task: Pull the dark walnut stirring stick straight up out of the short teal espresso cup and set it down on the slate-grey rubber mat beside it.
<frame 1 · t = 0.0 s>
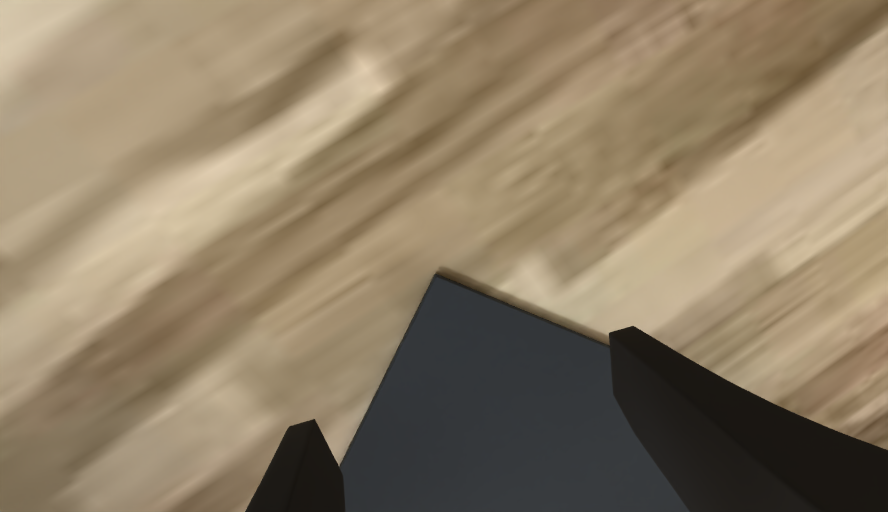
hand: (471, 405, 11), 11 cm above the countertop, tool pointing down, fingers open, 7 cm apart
mat: (562, 461, 26), on the countertop
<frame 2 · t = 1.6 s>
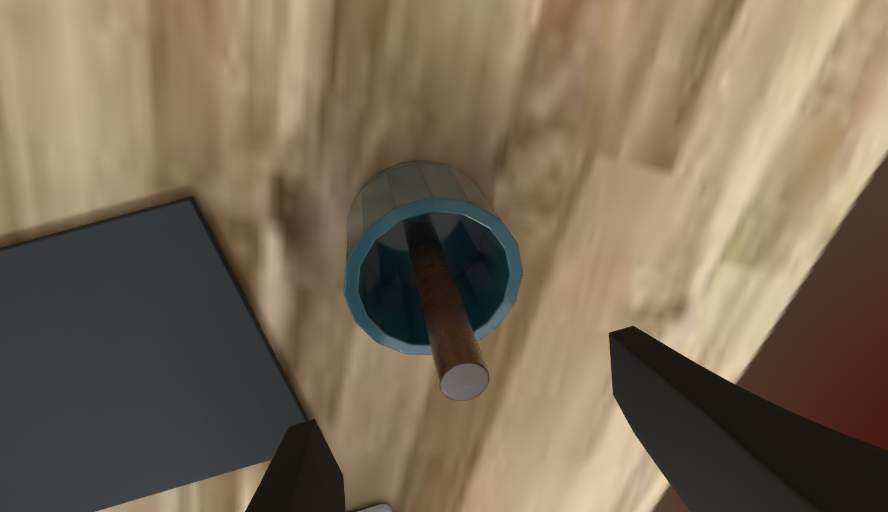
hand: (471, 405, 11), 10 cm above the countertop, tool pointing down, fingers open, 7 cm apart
espresso cup: (420, 231, 20), on the countertop
stirring stick: (421, 236, 20), resting on espresso cup
mat: (23, 405, 21), on the countertop
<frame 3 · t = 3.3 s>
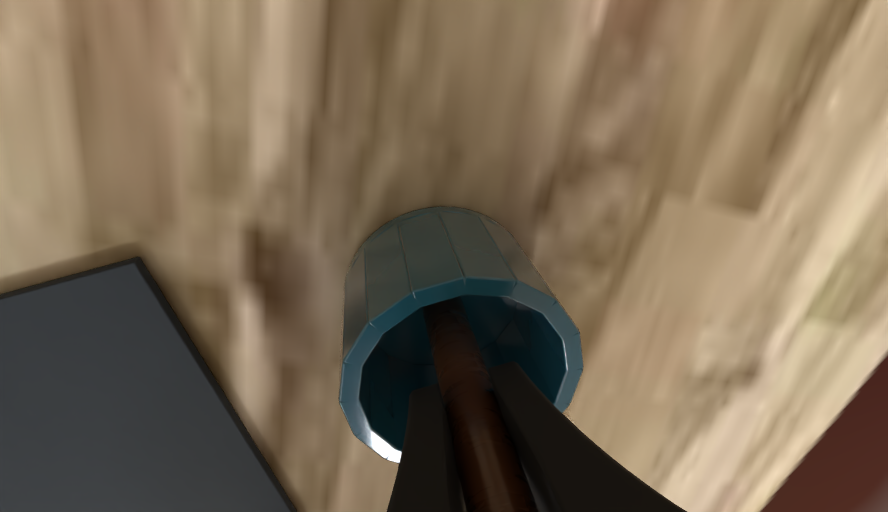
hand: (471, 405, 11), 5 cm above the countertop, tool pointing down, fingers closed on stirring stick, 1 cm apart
espresso cup: (438, 292, 16), on the countertop
stirring stick: (440, 300, 15), point 1 cm above the countertop, touching espresso cup, gripper
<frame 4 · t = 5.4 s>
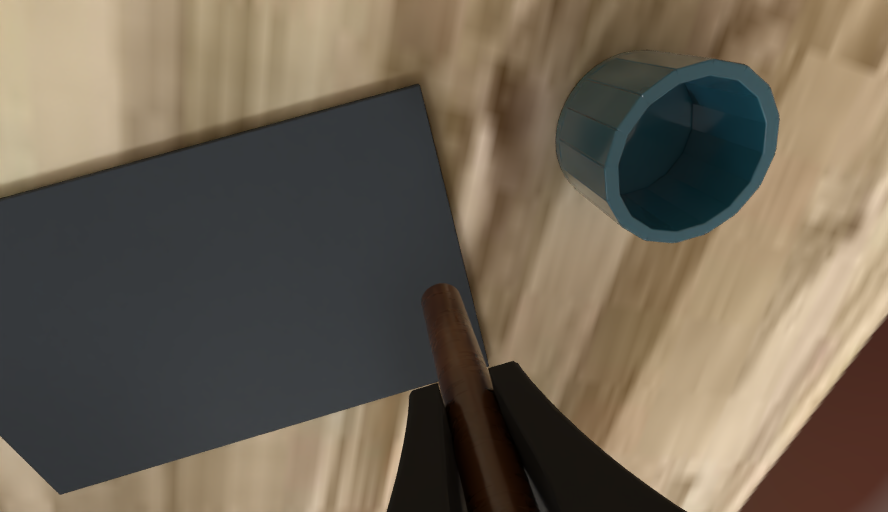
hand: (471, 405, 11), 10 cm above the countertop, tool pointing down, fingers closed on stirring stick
espresso cup: (625, 130, 20), on the countertop
stirring stick: (440, 299, 15), point 6 cm above the countertop, touching gripper
mat: (216, 314, 21), on the countertop
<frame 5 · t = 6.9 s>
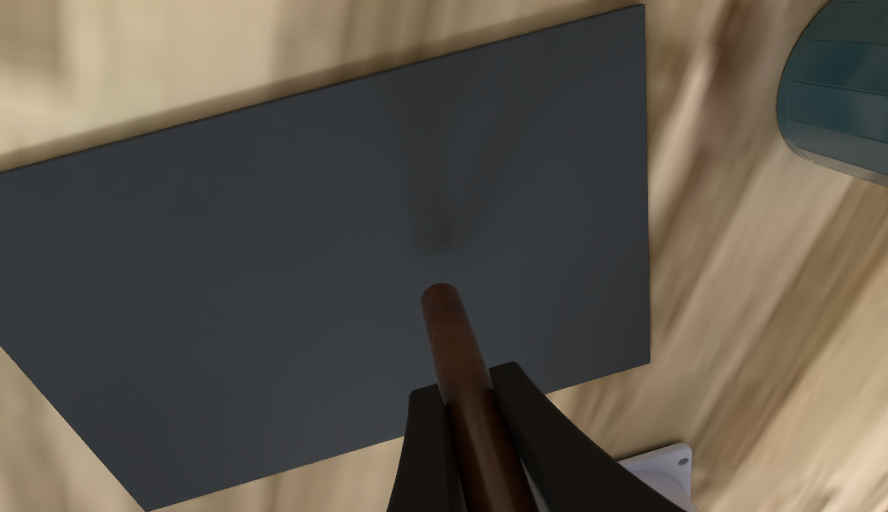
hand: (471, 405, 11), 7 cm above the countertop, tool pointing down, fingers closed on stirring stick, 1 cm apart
espresso cup: (860, 74, 16), on the countertop
stirring stick: (440, 299, 15), point 2 cm above the countertop, touching gripper
mat: (352, 296, 17), on the countertop
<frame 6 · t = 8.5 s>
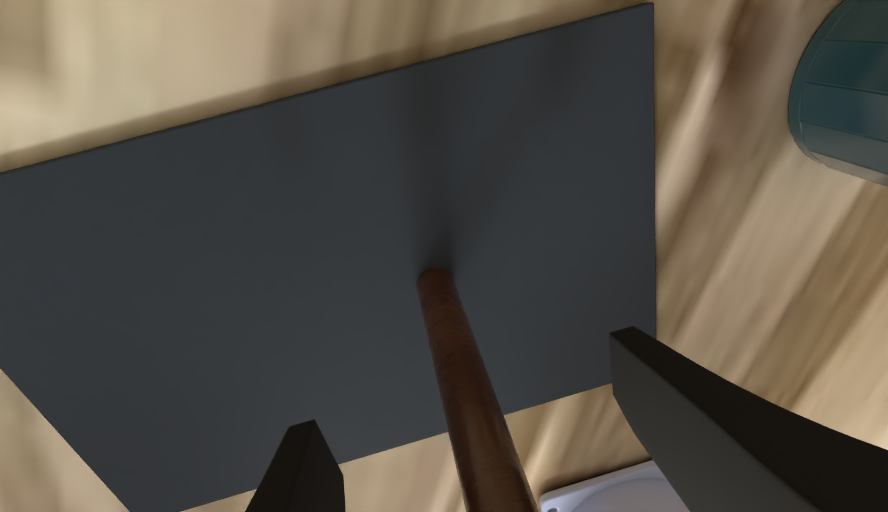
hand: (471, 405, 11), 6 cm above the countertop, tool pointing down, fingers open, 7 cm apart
espresso cup: (874, 74, 16), on the countertop
stirring stick: (434, 284, 16), resting on mat
mat: (351, 303, 17), on the countertop
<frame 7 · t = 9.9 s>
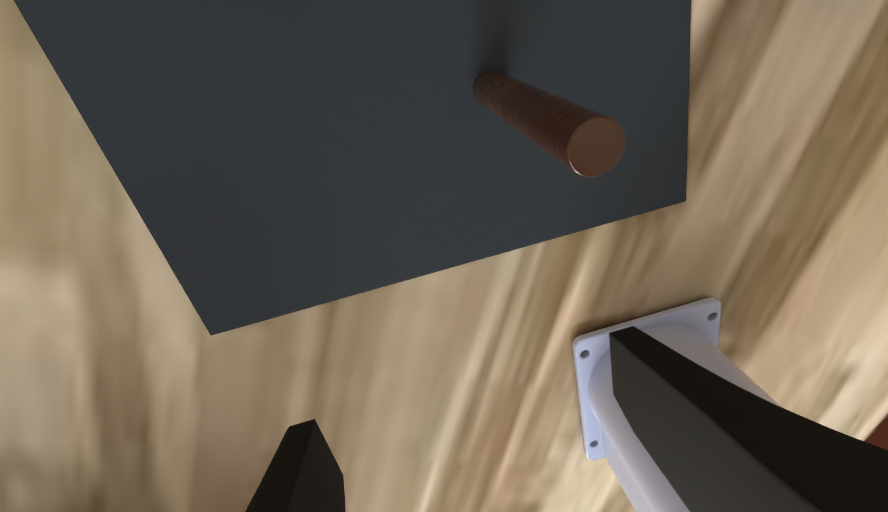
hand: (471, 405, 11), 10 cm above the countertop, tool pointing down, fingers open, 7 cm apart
stirring stick: (490, 88, 18), resting on mat
mat: (413, 108, 18), on the countertop
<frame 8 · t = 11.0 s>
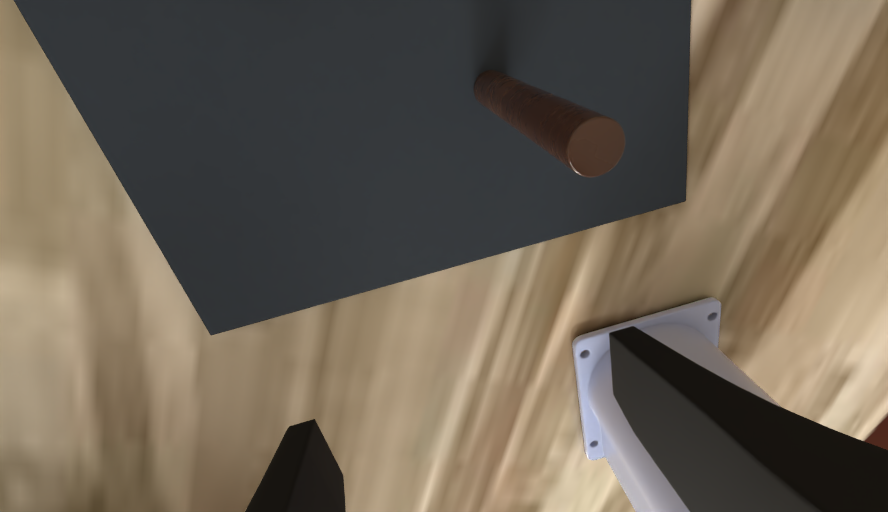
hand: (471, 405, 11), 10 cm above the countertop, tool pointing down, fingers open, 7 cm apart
stirring stick: (490, 88, 18), resting on mat
mat: (413, 108, 18), on the countertop
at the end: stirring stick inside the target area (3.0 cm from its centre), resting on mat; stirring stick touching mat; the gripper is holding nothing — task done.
